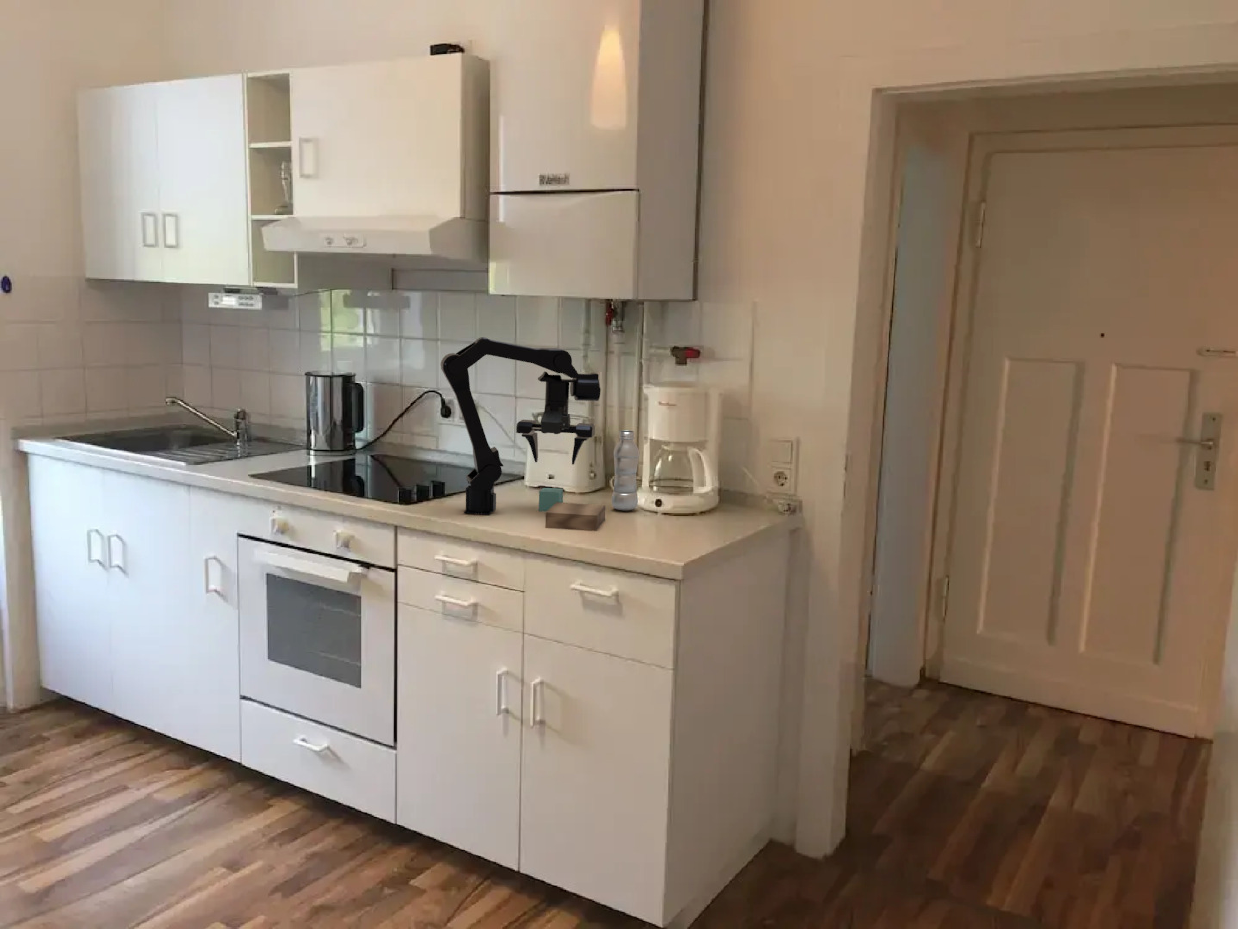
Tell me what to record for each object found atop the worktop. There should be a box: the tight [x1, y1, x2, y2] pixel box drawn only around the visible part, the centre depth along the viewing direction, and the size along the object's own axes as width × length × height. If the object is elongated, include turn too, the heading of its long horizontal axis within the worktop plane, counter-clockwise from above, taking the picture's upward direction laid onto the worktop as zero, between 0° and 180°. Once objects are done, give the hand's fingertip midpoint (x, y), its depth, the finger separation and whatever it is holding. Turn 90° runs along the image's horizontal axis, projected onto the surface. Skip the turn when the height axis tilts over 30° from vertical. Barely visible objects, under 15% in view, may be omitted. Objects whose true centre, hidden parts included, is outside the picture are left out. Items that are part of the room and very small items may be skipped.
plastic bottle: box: [611, 429, 640, 512], centre depth 261 cm, size 6×7×20 cm
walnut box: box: [544, 502, 606, 532], centre depth 246 cm, size 12×12×4 cm
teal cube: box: [538, 487, 564, 512], centre depth 261 cm, size 5×5×5 cm
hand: (554, 463), depth 258 cm, fingers open, 9 cm apart
